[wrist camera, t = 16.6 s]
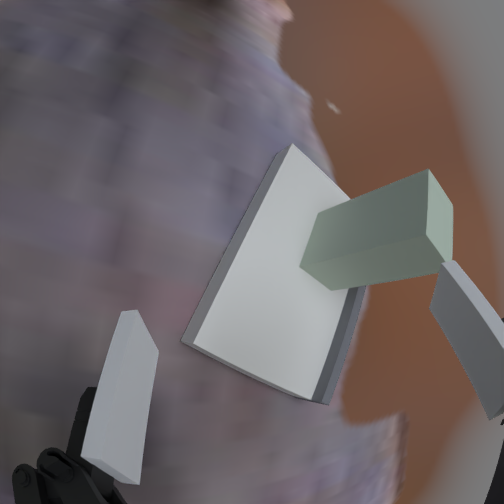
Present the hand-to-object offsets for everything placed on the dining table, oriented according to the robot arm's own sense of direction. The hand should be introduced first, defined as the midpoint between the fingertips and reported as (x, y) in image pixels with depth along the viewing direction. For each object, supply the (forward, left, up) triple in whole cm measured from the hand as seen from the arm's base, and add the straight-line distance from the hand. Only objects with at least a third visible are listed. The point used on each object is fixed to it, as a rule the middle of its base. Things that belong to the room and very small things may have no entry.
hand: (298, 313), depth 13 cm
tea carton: (-14, +11, -14) cm, 22 cm away
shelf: (-11, +9, -17) cm, 22 cm away
